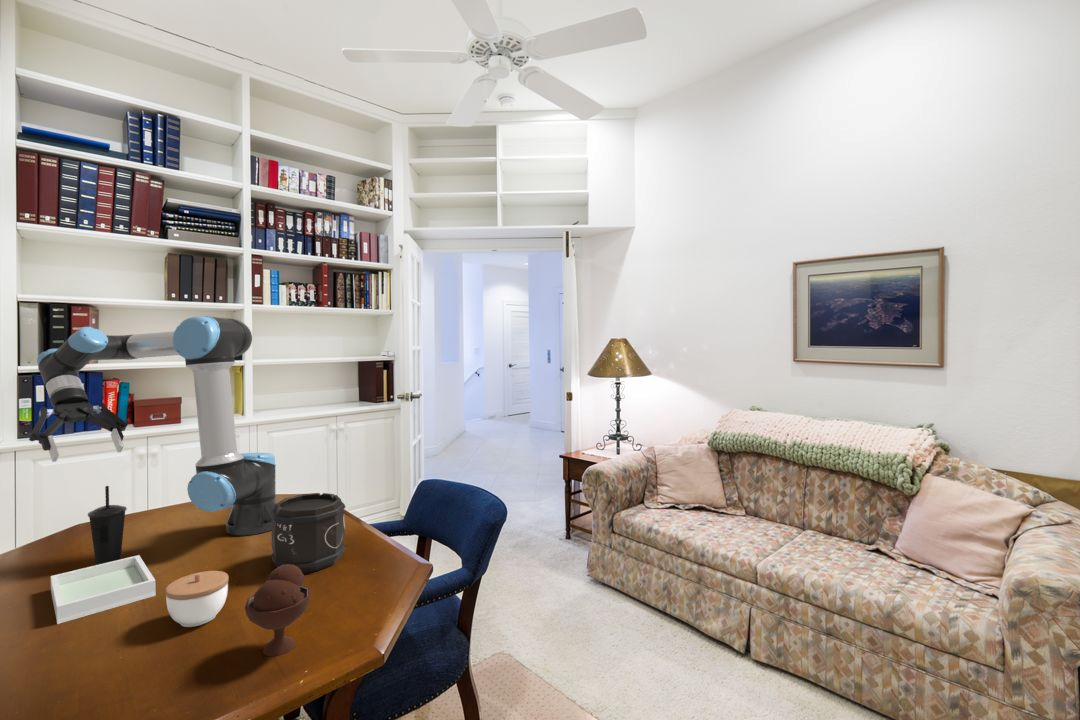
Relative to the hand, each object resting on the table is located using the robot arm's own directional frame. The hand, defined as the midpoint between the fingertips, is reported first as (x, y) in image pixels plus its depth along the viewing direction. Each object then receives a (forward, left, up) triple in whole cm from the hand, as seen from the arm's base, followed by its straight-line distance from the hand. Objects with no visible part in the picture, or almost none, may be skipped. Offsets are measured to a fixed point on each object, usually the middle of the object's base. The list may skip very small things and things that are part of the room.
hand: (89, 453), depth 135 cm
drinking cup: (-8, +7, -27) cm, 29 cm away
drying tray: (-18, +25, -27) cm, 41 cm away
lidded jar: (-45, +40, -28) cm, 66 cm away
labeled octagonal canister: (-59, +13, -28) cm, 67 cm away
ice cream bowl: (-65, +53, -27) cm, 88 cm away
